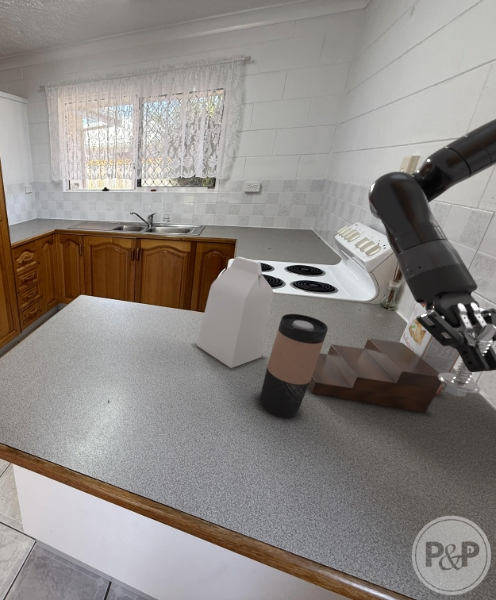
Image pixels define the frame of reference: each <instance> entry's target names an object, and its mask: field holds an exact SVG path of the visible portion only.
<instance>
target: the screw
mask: <svg viewBox="0 0 496 600" xmlns="http://www.w3.org/2000/svg"><path fill="white" fill-rule="evenodd" d="M495 332H496V327H495V326H494V325H493V324H491V325H485V326H484V327H483V329H482V331H481V333H480V334H479V336H478V337H477V338H475V337H474V338H475V343H476V345H475V346H473V347H478V348H479V350H480V352H481V353H482V355H483V356H484V355H485V353H486V352H487V350H486V349H489V347H488V346H492V345H491V344H490V343H491V342H492V340H491V339H492V337H493V335H494V334H495ZM474 374H475V372H470V371H469V370H468V369H467V367H466V366H465V364H464V362H463V359H461V362H459V365H457V368H456V371H454V373H452V372H450V373H440V374H439V375H438V379H439V380H440V381H441V382H443V383H444V384H443V386H442V389H443V391H444V392H445V393H446V394H450V395H452V396H454V397H460V398H461V397H462V398H465V397H466V395H467V394H468V393H469V394H478V393H480V391H481V387H480V386H479V385H478V383H477V382H475V381H474V380H472V379H471V378H472V377H473V375H474Z"/></svg>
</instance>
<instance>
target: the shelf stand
mask: <svg viewBox="0 0 496 600" xmlns="http://www.w3.org/2000/svg"><path fill="white" fill-rule="evenodd" d="M439 374H440V373H439V372H437V371H436V370H435V369H434V368H433V367H431V366H430V365H429V364H428V363H426V362H425V361H424V360H423V359H422V358H420V357H419V356H418V355H417V354H416V353H414V352H413V351H412V350H411V349H409V348H408V347H407V346H406V345H405V344H403V343H401V342H400V341H392V340H386V339H385V340H384V339H377V338H370V337H369V338H367V340H366V342H365V344H364V347H363V348H361V347H353V346H347V345H340V344H334V343H333V344H332V343H330V346H329V349H328V352H327V353H321V352H320V354H319V357H318V360H317V363H316V366H315V369H314V372H313V375H312V378H311V380H310V383H309V386H308V389H309V390H310V392H311V394H315V395H322V396H327V397H334V398H338V399H343V400H350V401H355V402H360V403H367V404H372V405H379V406H384V407H391V408H396V409H403V410H407V411H414V412H418V413H424V414H425V413H426V412H427V410H428V409H429V406H430V405H431V403H432V402H433V400H434V398H435V396H436V395H437V394H436V393H437V391H438V389H439V387H440V385H441V383H442V382H441V381H440V380H439V379H438V375H439Z"/></svg>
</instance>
